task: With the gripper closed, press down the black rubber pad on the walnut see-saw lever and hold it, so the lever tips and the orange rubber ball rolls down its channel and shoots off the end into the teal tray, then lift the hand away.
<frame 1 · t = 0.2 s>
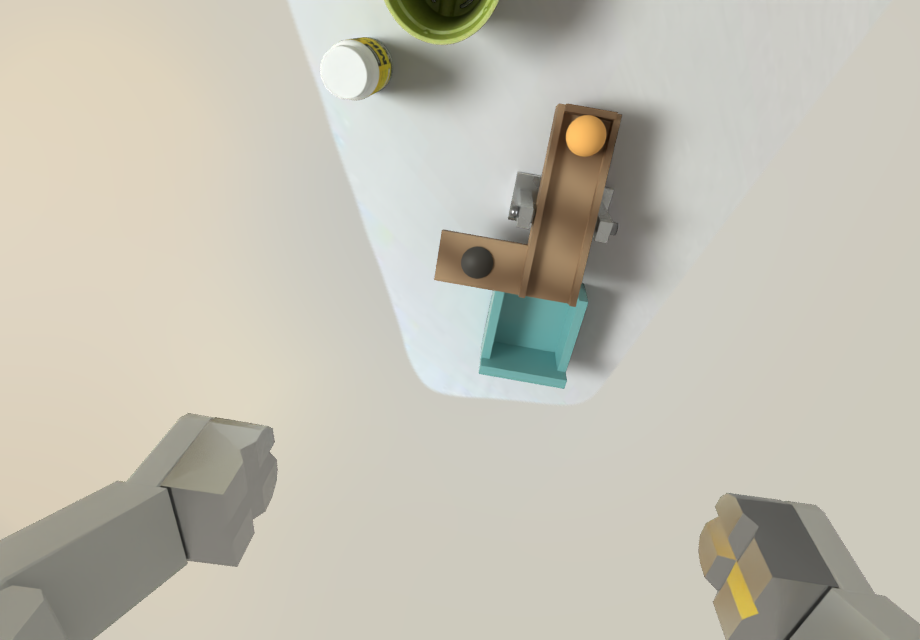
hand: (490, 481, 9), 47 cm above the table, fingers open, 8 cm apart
supplement bottle: (369, 64, 49), on the table
fulcrum: (559, 203, 54), on the table
ball: (585, 136, 46), point 5 cm above the table, tilted 6°, touching lever
lever: (522, 202, 49), point 6 cm above the table, hinge at -15.0°, touching ball
teal tray: (530, 315, 62), on the table
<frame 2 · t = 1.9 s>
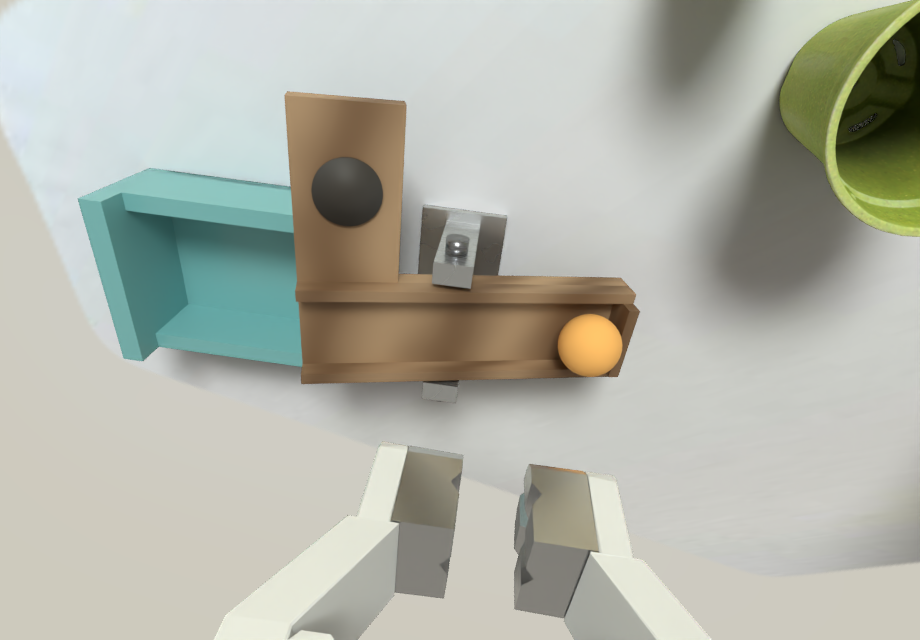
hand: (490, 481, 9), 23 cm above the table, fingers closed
fulcrum: (456, 284, 33), on the table
ball: (589, 345, 29), point 5 cm above the table, tilted 6°, touching lever
lever: (478, 262, 26), point 6 cm above the table, hinge at -15.0°, touching ball
teal tray: (245, 255, 34), on the table
plant pot: (840, 83, 26), on the table
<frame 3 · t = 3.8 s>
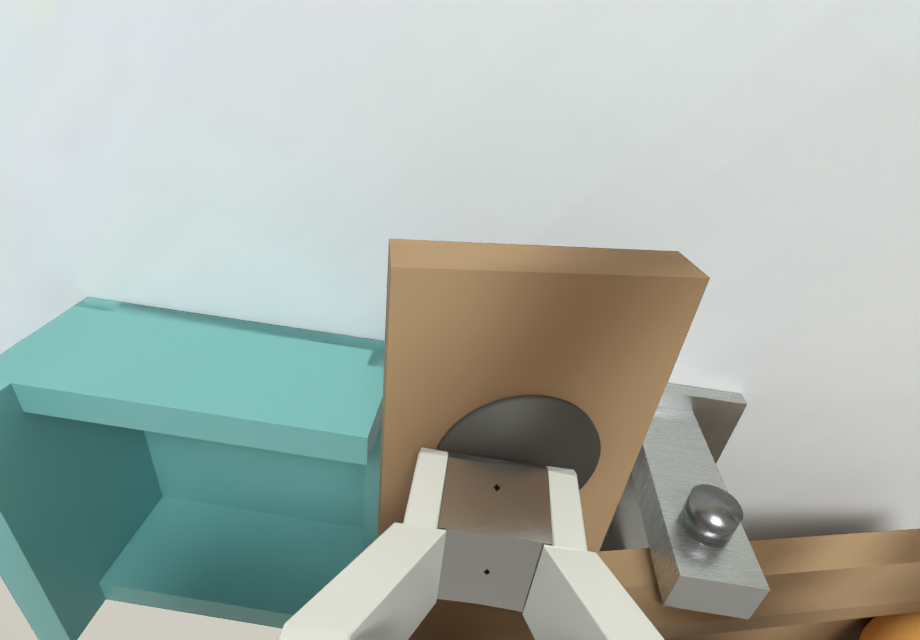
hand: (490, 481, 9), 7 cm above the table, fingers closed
fulcrum: (621, 487, 19), on the table
lever: (761, 558, 12), point 6 cm above the table, hinge at -14.1°, touching ball, gripper
teal tray: (257, 430, 20), on the table
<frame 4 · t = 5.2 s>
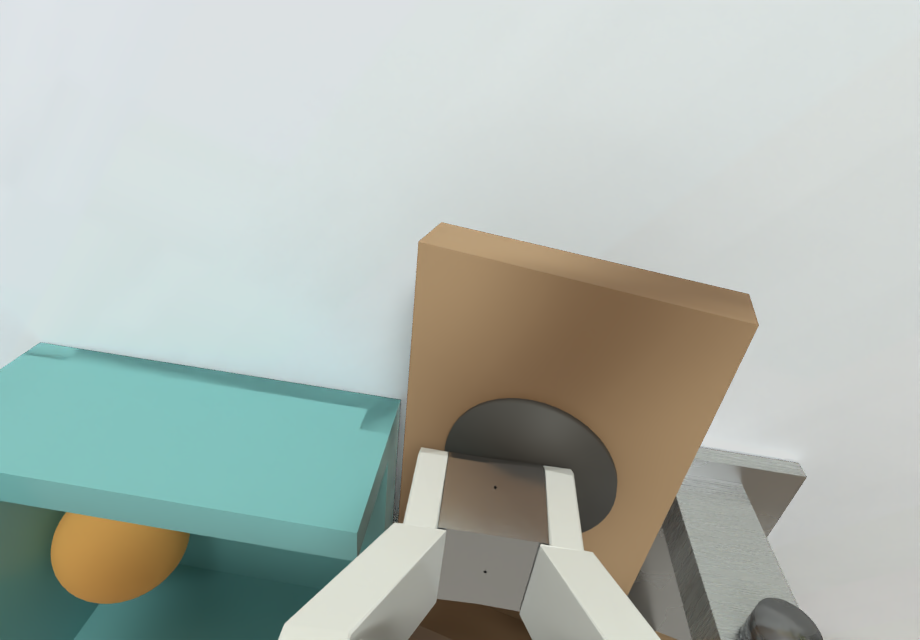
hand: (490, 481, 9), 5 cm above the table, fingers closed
fulcrum: (652, 558, 17), on the table
ball: (124, 537, 15), point 2 cm above the table, tilted 103°, touching teal tray
teal tray: (237, 488, 17), on the table
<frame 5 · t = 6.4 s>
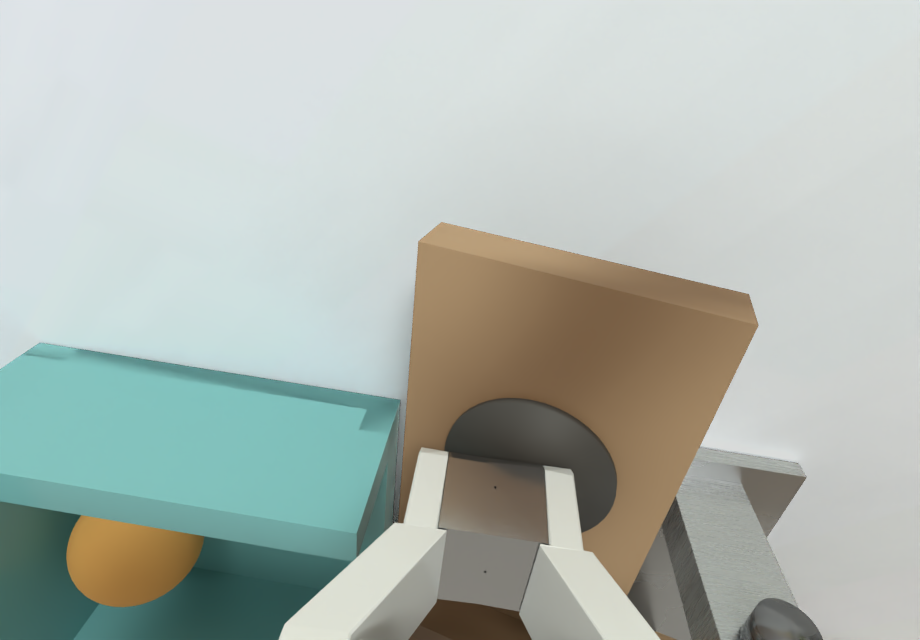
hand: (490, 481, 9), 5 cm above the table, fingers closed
fulcrum: (652, 558, 17), on the table
ball: (139, 540, 15), point 2 cm above the table, tilted 87°, touching teal tray
teal tray: (237, 488, 17), on the table
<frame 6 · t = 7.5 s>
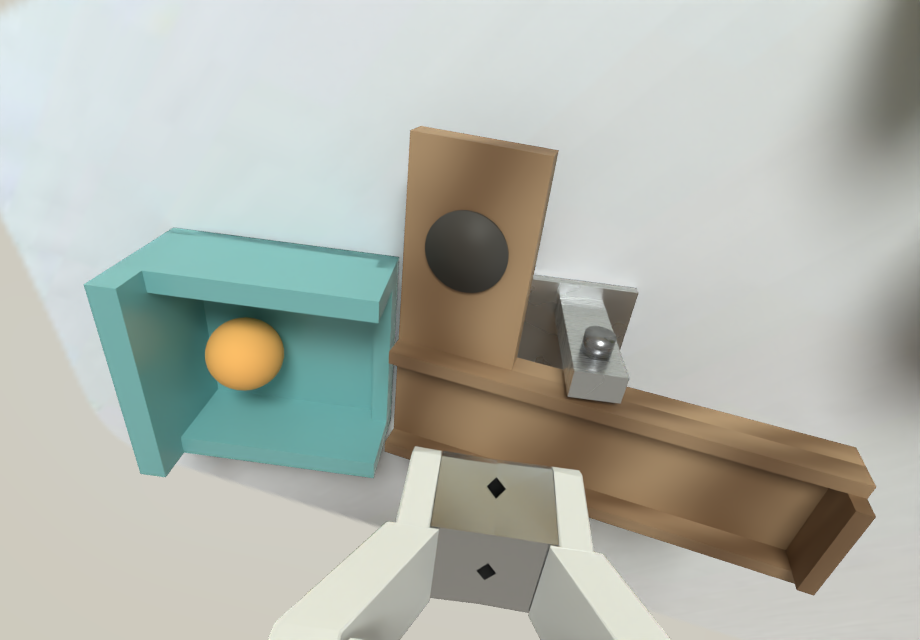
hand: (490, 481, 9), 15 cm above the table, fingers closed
fulcrum: (560, 367, 27), on the table
ball: (245, 353, 25), point 2 cm above the table, tilted 73°, touching teal tray
lever: (620, 373, 19), point 6 cm above the table, hinge at 13.2°
teal tray: (292, 331, 27), on the table
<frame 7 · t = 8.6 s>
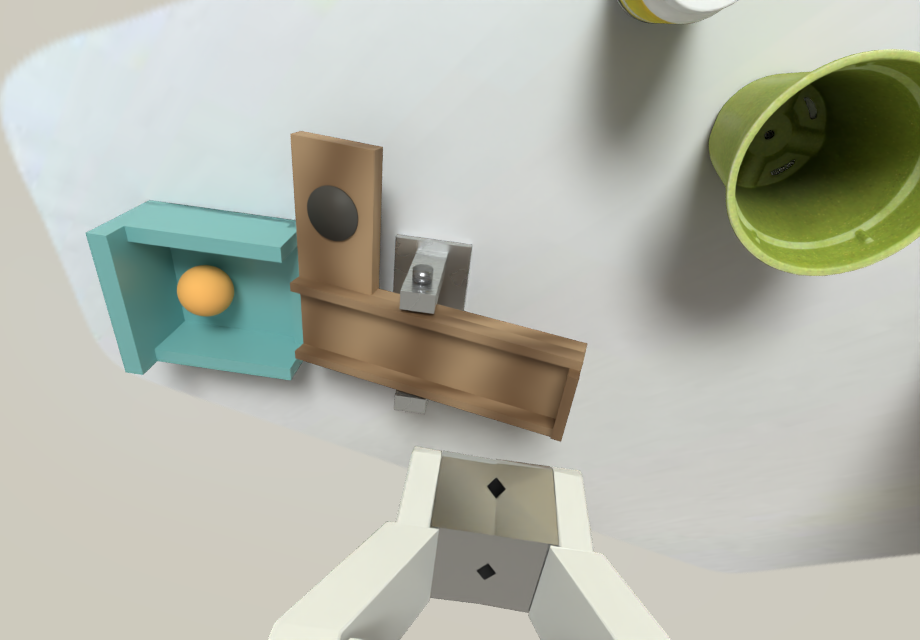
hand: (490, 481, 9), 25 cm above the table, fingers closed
fulcrum: (428, 304, 37), on the table
ball: (206, 290, 35), point 2 cm above the table, tilted 59°, touching teal tray
lever: (432, 293, 29), point 6 cm above the table, hinge at 13.2°
teal tray: (236, 277, 37), on the table
plant pot: (762, 133, 29), on the table
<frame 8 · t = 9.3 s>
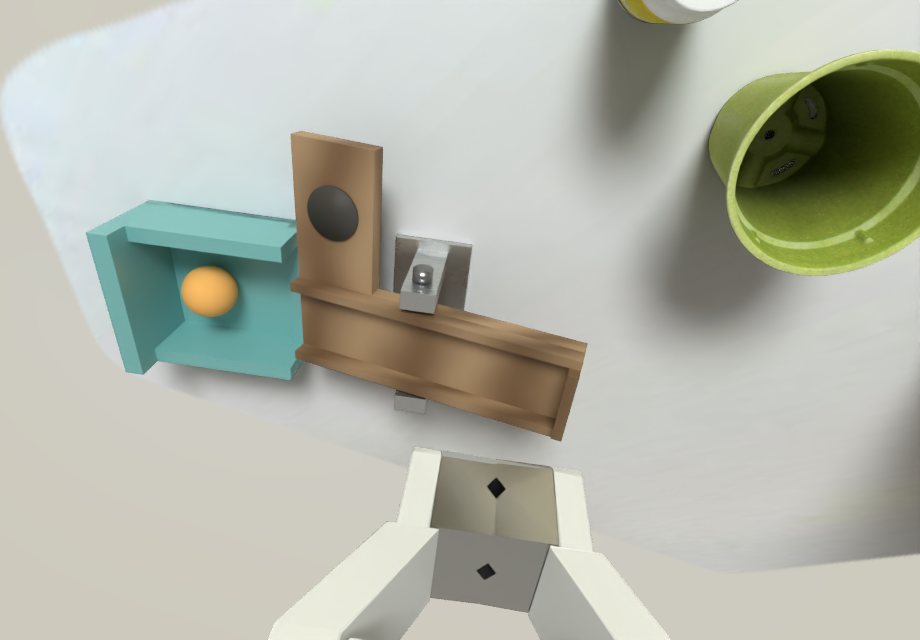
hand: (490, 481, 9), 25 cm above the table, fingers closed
fulcrum: (428, 304, 37), on the table
ball: (210, 291, 35), point 2 cm above the table, tilted 49°, touching teal tray
lever: (432, 293, 29), point 6 cm above the table, hinge at 13.2°
teal tray: (236, 277, 37), on the table
plant pot: (762, 133, 29), on the table
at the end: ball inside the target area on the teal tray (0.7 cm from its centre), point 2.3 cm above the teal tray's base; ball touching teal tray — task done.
